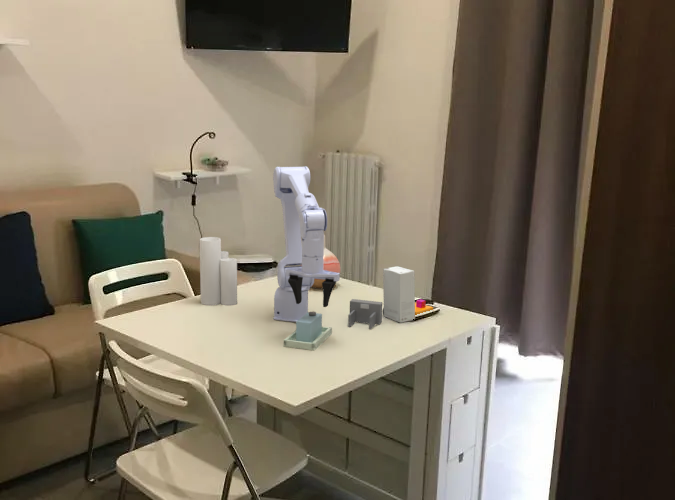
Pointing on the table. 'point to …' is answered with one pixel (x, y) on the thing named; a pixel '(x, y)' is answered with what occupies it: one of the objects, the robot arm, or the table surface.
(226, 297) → the vase
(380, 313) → the bay
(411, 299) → the skincare box
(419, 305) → the orange flat block
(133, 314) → the table surface
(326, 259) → the vase
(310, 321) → the tall blue-grey prism
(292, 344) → the tray
